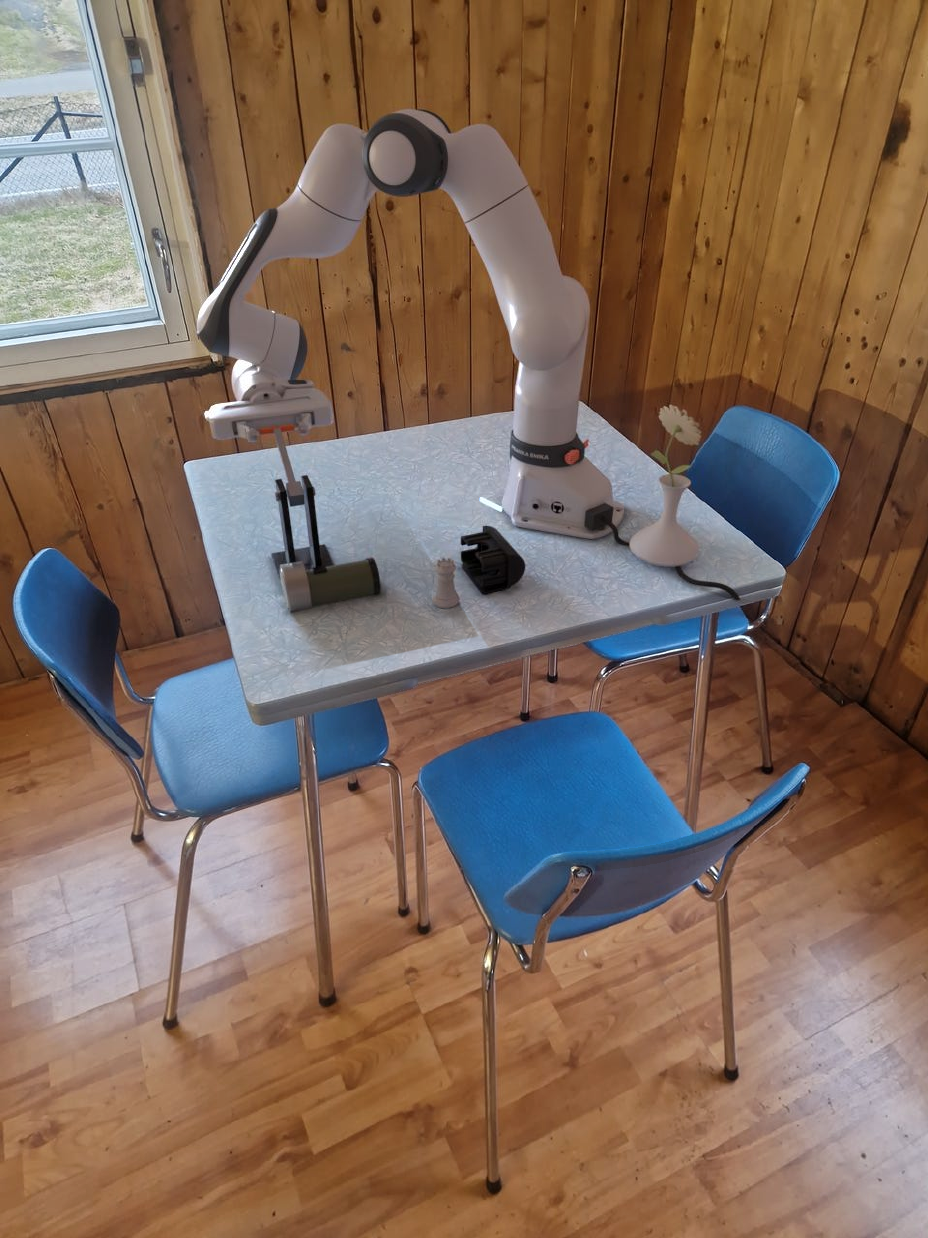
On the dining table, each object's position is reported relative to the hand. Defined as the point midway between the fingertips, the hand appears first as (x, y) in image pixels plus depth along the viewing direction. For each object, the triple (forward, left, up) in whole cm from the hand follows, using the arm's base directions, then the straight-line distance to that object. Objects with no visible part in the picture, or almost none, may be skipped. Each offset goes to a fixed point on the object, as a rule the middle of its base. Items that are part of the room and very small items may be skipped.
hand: (278, 433), depth 133 cm
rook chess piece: (-34, +4, -19) cm, 39 cm away
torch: (-18, +12, -19) cm, 28 cm away
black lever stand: (-9, +7, -19) cm, 22 cm away
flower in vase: (-57, -28, -19) cm, 66 cm away
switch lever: (-4, +3, -4) cm, 6 cm away
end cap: (-36, -7, -19) cm, 41 cm away
